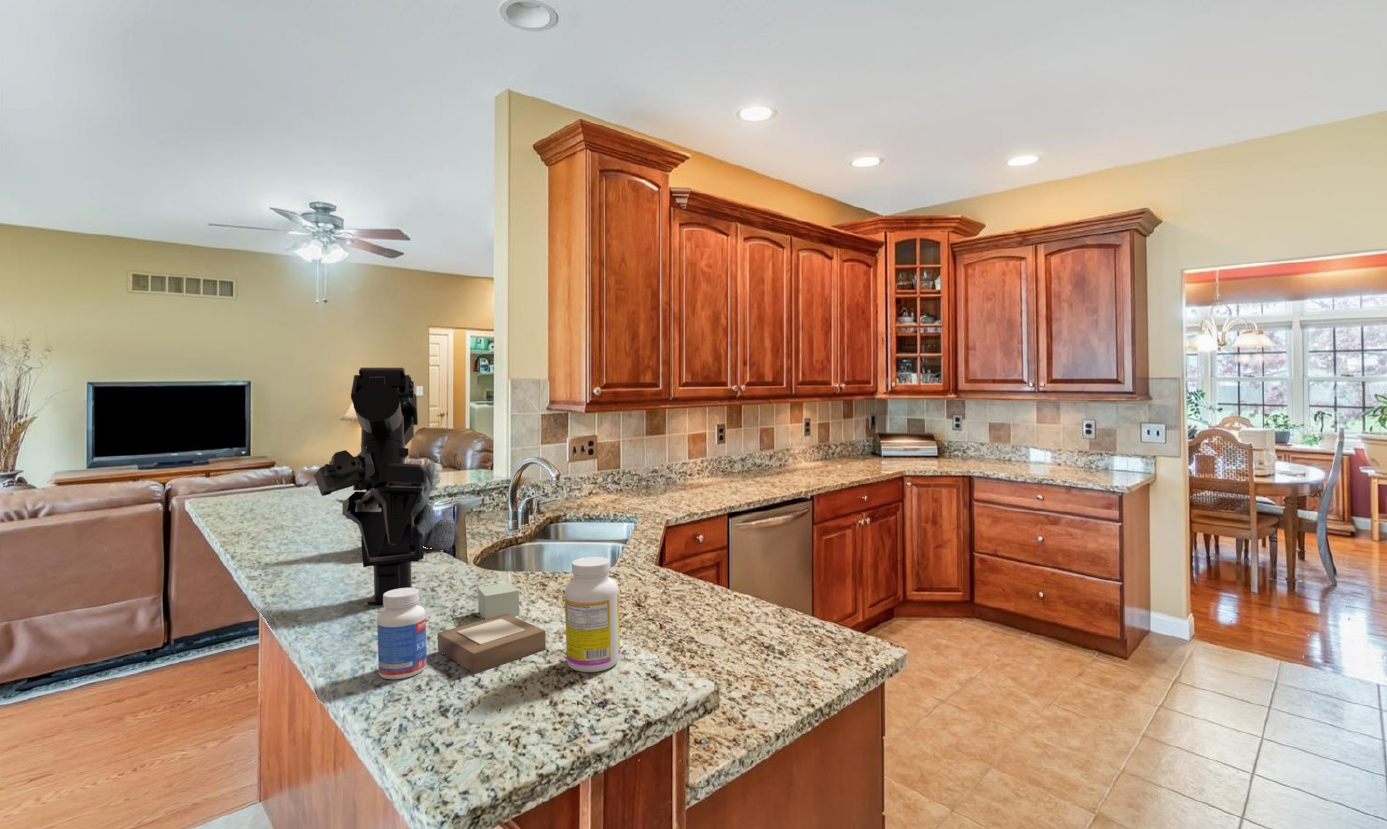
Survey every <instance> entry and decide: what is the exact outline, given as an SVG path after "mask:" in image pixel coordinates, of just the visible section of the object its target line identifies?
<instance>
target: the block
mask: <svg viewBox="0 0 1387 829" xmlns="http://www.w3.org/2000/svg"><path fill="white" fill-rule="evenodd" d="M477 595H478V596H477V600H478V601H477V602H478V603H477V606H478V608H477V609H478V610H477V611H479V612H480V614H481V615H482V616H481V615H480V614H479V615H480V616H481V618H485V619H488V618H492V617H495V616H499V615H502V614H509V615H511V616H513V617H517V616H520V590H519V589H518V588H517V587H516V586H515V585H514V584H512V583H511V582H505V583H499V584H492V585H487V586H479V587H477ZM479 612H478V613H479Z"/></svg>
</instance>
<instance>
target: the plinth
mask: <svg viewBox="0 0 1387 829" xmlns="http://www.w3.org/2000/svg"><path fill="white" fill-rule="evenodd" d="M546 643H547V642H546V630H544V629H543V628H541V627H538V626H536V625H533V624H531V623H529V622H526V621H524V620H522V619H520V618H517V616H511V615H509V614H502V615H499V616H495V617H492V618H488V619H485V620H484V619H482V620H478V621H475V622H471V623H468V624H465V625H460V626H458V627H454V628H450V629H447V630H442V631H440V632H437V652H438V651H439V652H441V653H443V654H444V655H446V656H447V657H446V656H445V657H446V658H448V657H449V658H450V659H449V658H448V659H449V660H451V659H452V660H455V661H456V662H457V663H459V664H460V665H459V664H458V665H459V666H461V665H462V666H463V667H462V666H461V667H462V668H464V667H465V668H464V669H466V668H467V669H469V670H470V671H469V670H468V671H469V672H470V673H472V672H473V673H472V674H474V673H476V674H478V673H481V672H483V671H486V670H490V669H493V668H496V667H498V666H502V665H504V664H507V663H511V662H513V661H516V660H518V659H521V658H525V657H528V656H530V655H533V654H536V653H539V652H542V651H545V650H546V648H547V647H546ZM439 652H438V653H439ZM441 653H440V654H441ZM443 654H442V655H443ZM444 655H443V656H444ZM452 660H451V661H452ZM456 662H455V663H456ZM457 663H456V664H457ZM489 668H490V669H489ZM467 669H466V670H467Z"/></svg>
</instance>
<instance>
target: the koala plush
mask: <svg viewBox="0 0 1387 829" xmlns="http://www.w3.org/2000/svg"><path fill="white" fill-rule="evenodd" d="M422 467H423V466H422ZM423 468H424V469H425V470H426V471H427V484H426V485H425V486H423V487H422V489H423V491H422V493H421V494H420V496H419V498H418V500H417V503H416V505H415V507H414V509H413V511H412V512H413V520H414V526H415V525H418V529H419V531H420V532H421V533H422V534H423V546H424V547H426V548H428V549H430V548H432V549H433V550H432V551H445V550H448V549H451V547H452V545H453V543H454V540H455V534H456V533H455V530H456V529H455V528H456V525H455V524H456V522H455V520H453V519H451V518H446V517H445V518H441V519H439V520H437V518H436V514H435V511H434V509H433V507H432V506H431V504H430V503H428V499H429V497H430V495H431V492H432V491H435V489H436V490H437V486H438V485H439V484H440V482H441V479H442V477H441V476H442V474H441V473H442V471H443V464H440V463H436V462H433V463H431V462H430V463H428V464H427V465H426V466H424V467H423Z"/></svg>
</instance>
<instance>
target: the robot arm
mask: <svg viewBox="0 0 1387 829" xmlns="http://www.w3.org/2000/svg"><path fill="white" fill-rule="evenodd" d="M417 396H418V395H416V394H415V382H414V380H413V379H412V376H411V375H410V374H406V371H405V368H404V367H360V368H359V369H358V374H354V376H353V381H352V386H351V392H350V398H351V399H350V400H351V402H352V405H353V409H354V412H355V414H356V415H355V416H356V418H357V421H358V424H359V426H360V428H361V434H360V439H361V440H360V442H361V443H360V450H361V451H360V452H359V454H356V456H353V455H352V454H351V453H350V452H349V451H348V450H346V449H345V450H341V451H340V450H339V451H336V452H334V454H333V455H332V456H331V458H330V464H329V463H326V464H324V465H323V466H320V468H318V469H317V471H316V472H315V473H314V474H313V477H314V479H315V482H316V484H317V487H318V490H319V492H320V495H321V496H323V497H325V496H329V495H331V494H332V493H333V492H338V491H340V490H345V489H348V488H351V487H352V490H353V491H354V492H353V493H351V495H350V496H349V497H347V499H345V500H344V501H343V502H342V511H341V512H342V516H344V517H345V518H346V519H347V520H351V521H352V522H353V523H355V525H357V526H358V529H359V532H360V534H361V541H360V542H361V554H362V555H361V556H362V567H363V568H368V567H373V568H372V569H373V590H374V591H373V592H374V594H373V595H372V596H371V597H370V598H369V599H368V600H367V601H366V604H367V605H369V606H370V605H383V594H384V593H386V592H388V591H390V590H394V589H399V588H413V586H412V584H413V583H412V563H413V562H415V563H417V562H418V563H419V562H420V561H421V560H424V559H425V558H424V557H425V556H424V554H425V552H424V549H423V534H422V533H421V532H420V531H419V529H418V525H415V526H414V520H413V512H412V511H413V509H414V507H415V505H416V503H417V500H418V498H419V496H420V494H421V493H422V491H423V489H422V487H423V486H425V485H426V484H427V471H426V470H425V469H424V468H423V466H422V465H421V464H416V463H415V464H414V463H406V459H407V457H408V456H409V451H410V450H409V448H407V447H406V446H407V445H408V443H410V442H411V440H412V439H413V438H414V436H415V426H418V424H419V423H418V422H419V420H418V419H419V418H418V415H419V414H418V412H419V410H418V399H417V398H418V397H417ZM364 490H365V491H364ZM415 588H416V589H418V590H419V588H418V587H415Z"/></svg>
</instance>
